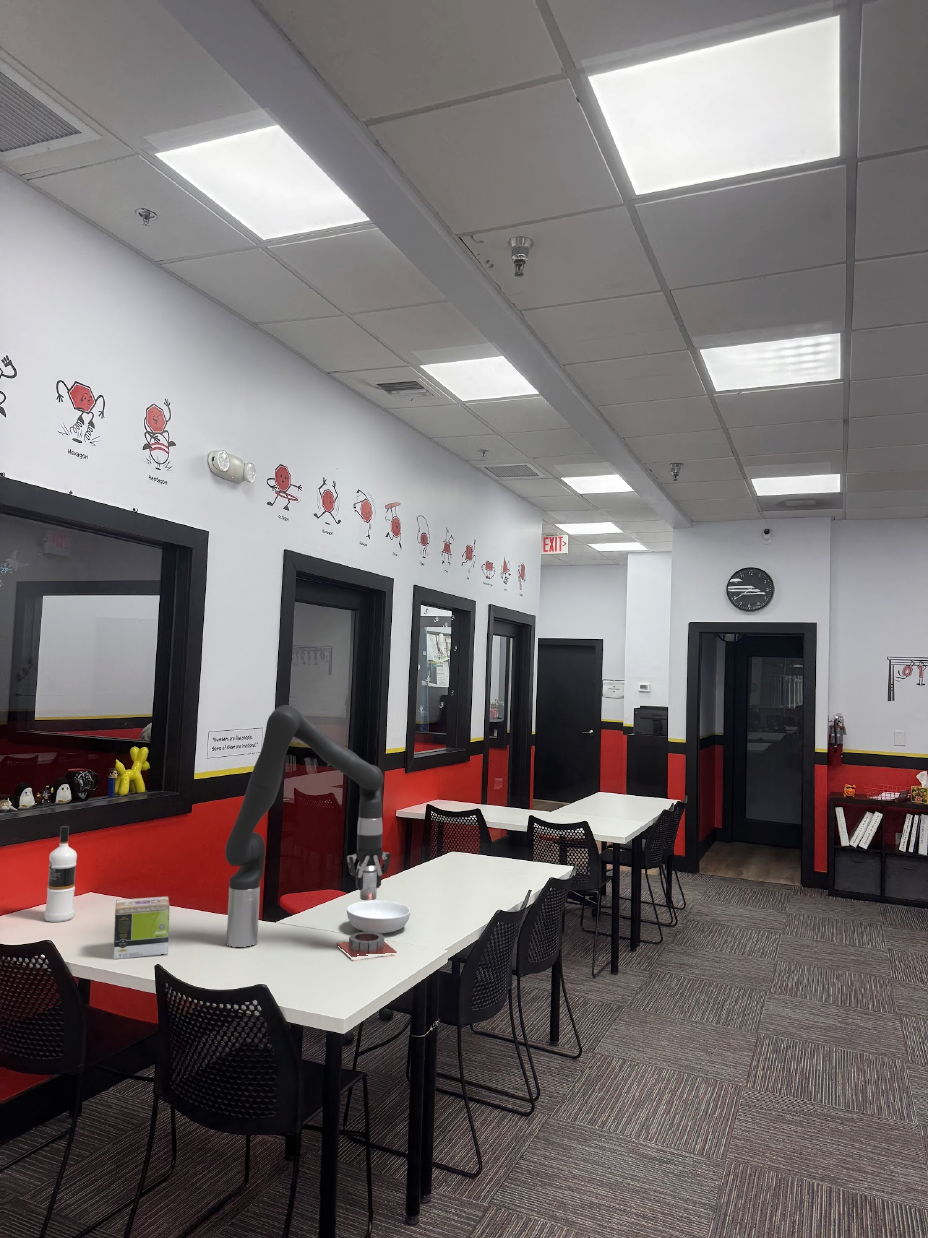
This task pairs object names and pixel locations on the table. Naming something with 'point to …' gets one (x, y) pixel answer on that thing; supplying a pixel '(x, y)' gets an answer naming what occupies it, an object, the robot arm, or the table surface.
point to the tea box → (141, 927)
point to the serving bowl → (378, 916)
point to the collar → (366, 944)
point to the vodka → (61, 881)
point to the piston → (369, 883)
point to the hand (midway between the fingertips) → (368, 888)
